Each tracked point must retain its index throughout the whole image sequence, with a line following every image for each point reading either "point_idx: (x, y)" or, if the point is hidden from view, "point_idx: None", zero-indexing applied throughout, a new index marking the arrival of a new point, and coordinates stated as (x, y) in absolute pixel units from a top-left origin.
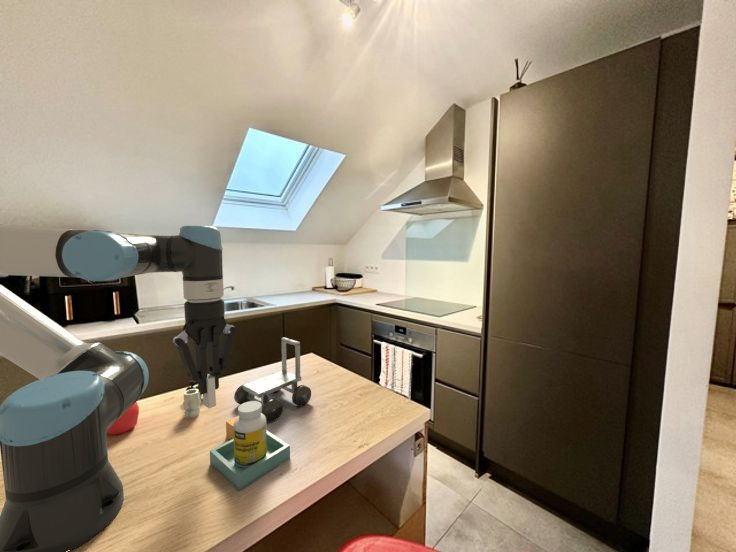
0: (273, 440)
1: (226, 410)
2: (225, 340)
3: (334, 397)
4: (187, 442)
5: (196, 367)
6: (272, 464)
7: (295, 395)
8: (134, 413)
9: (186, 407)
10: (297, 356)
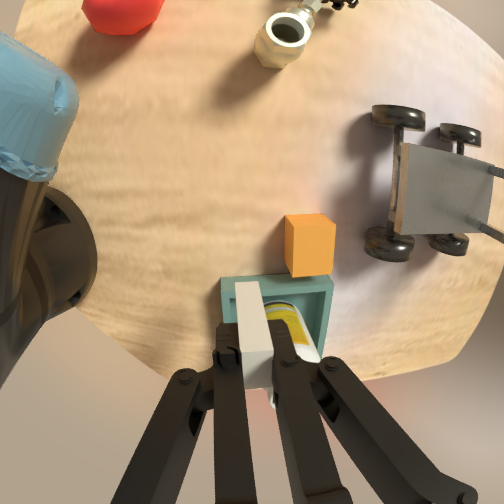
0: (318, 331)
1: (341, 105)
2: (385, 489)
3: (467, 256)
4: (214, 169)
5: (214, 399)
6: None
7: (441, 247)
8: (141, 14)
9: (258, 52)
10: None
